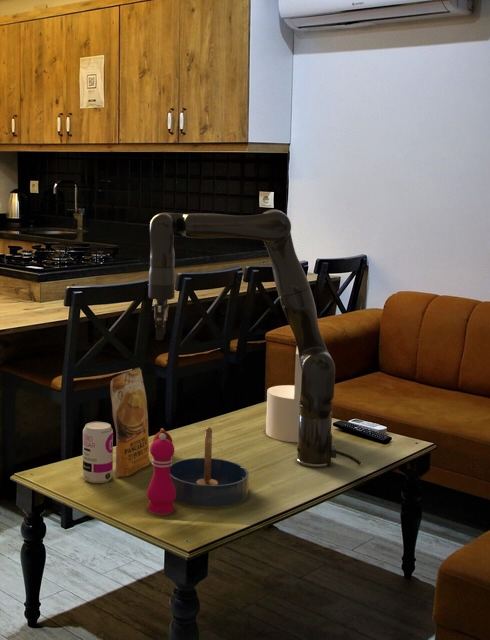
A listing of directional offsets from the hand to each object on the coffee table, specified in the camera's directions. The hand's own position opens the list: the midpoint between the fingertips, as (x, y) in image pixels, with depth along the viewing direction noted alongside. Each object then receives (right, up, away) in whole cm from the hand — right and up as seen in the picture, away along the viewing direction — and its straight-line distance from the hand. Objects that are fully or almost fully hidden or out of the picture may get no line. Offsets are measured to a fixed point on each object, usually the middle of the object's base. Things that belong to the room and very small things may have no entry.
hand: (160, 337), depth 257 cm
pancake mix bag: (-9, -37, -8) cm, 39 cm away
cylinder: (+44, -33, +26) cm, 61 cm away
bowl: (+11, -39, -26) cm, 48 cm away
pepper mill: (-2, -41, -38) cm, 56 cm away
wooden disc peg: (+11, -39, -26) cm, 48 cm away
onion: (+1, -35, +5) cm, 36 cm away
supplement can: (-18, -38, -16) cm, 45 cm away
